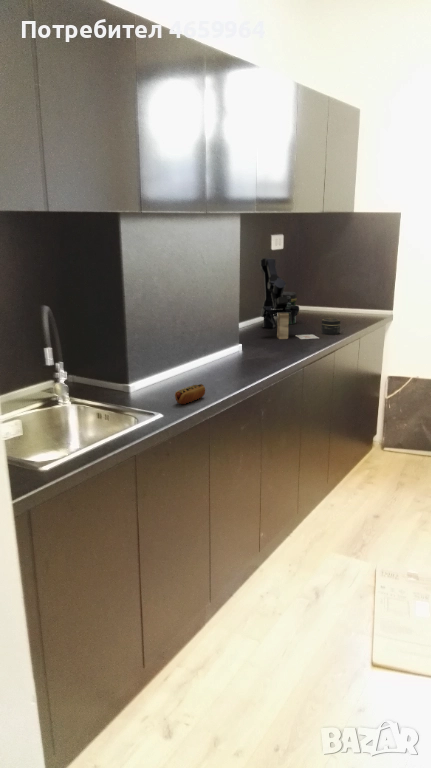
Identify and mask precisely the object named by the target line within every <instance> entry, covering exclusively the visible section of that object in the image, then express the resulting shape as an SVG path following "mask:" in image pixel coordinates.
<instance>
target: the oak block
mask: <svg viewBox="0 0 431 768" xmlns="http://www.w3.org/2000/svg"><path fill="white" fill-rule="evenodd" d="M289 325H290V324H289V314H288V313H277V326H276V327H277V330H276V331H277V332H276V338H277V339H278V340H287V339H288V340H289Z"/></svg>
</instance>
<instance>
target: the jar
mask: <svg viewBox="0 0 431 768" xmlns="http://www.w3.org/2000/svg"><path fill="white" fill-rule="evenodd" d="M320 324H321V328H320V329H321V334H323V335H329V336H333V335H339V334H340V332H341V319H338V318H333V317H332V318H329V317H328V318H327V317H326V318H323V319H321V323H320Z"/></svg>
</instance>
